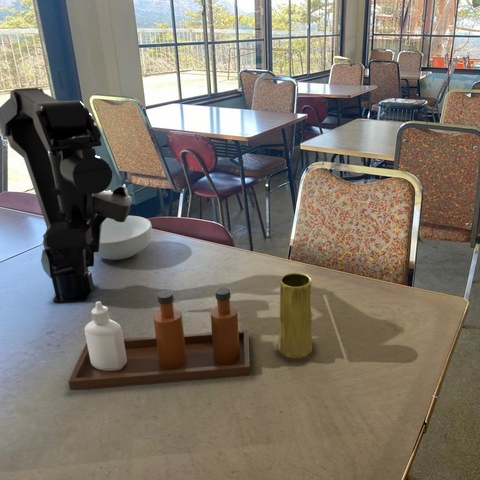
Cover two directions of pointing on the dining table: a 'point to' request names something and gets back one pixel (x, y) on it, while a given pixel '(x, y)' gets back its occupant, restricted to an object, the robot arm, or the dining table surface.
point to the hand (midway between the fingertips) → (89, 262)
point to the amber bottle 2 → (225, 328)
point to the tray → (150, 371)
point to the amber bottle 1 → (169, 332)
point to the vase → (295, 315)
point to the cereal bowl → (123, 237)
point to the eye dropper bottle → (105, 341)
